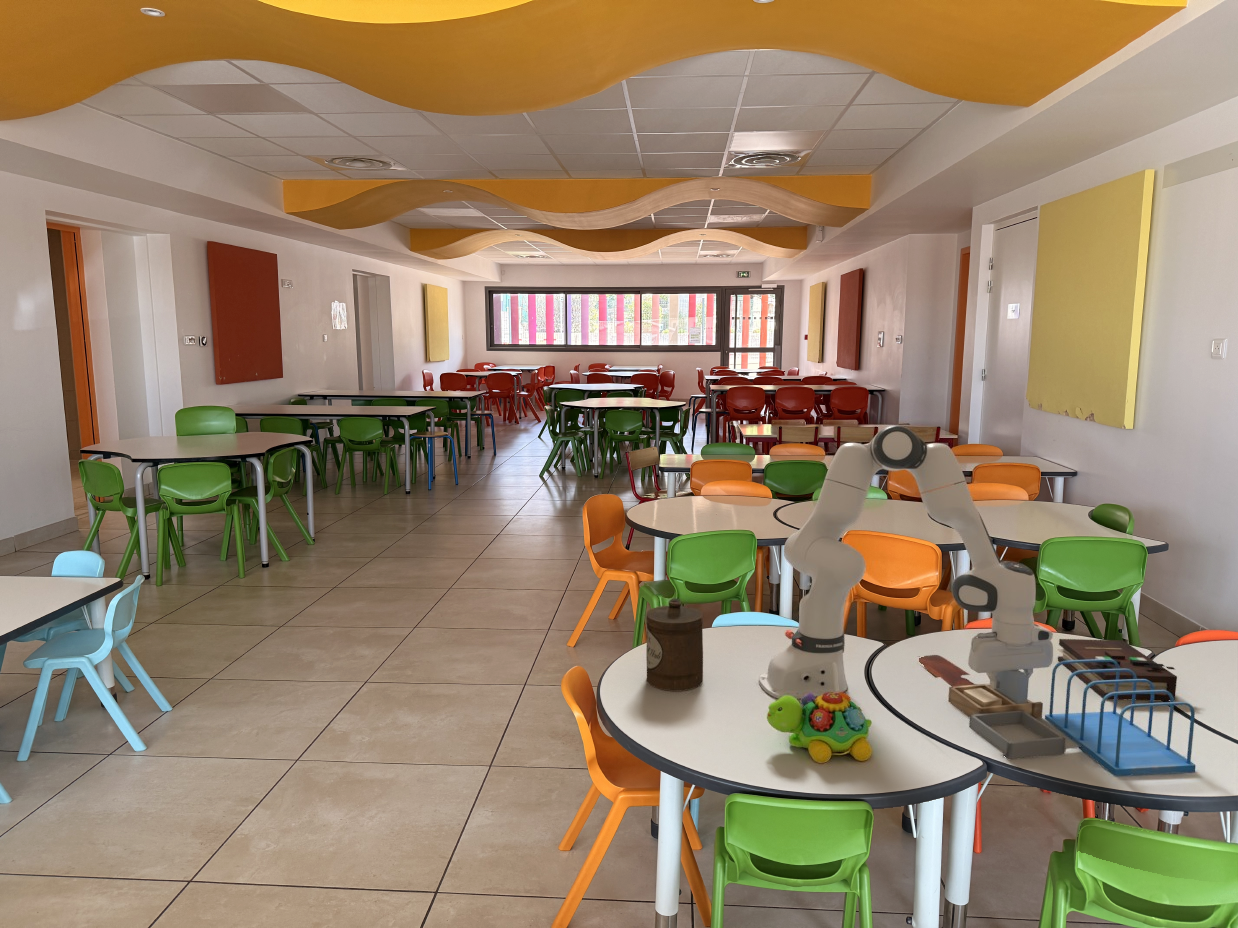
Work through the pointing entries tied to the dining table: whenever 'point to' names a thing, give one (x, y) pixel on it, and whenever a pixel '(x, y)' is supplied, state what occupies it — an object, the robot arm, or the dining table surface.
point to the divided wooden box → (1007, 705)
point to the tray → (1018, 749)
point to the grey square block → (1013, 685)
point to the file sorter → (1121, 730)
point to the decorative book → (1125, 659)
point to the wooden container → (674, 647)
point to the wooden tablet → (945, 670)
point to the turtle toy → (823, 725)
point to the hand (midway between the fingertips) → (1008, 686)
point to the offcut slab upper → (982, 697)
